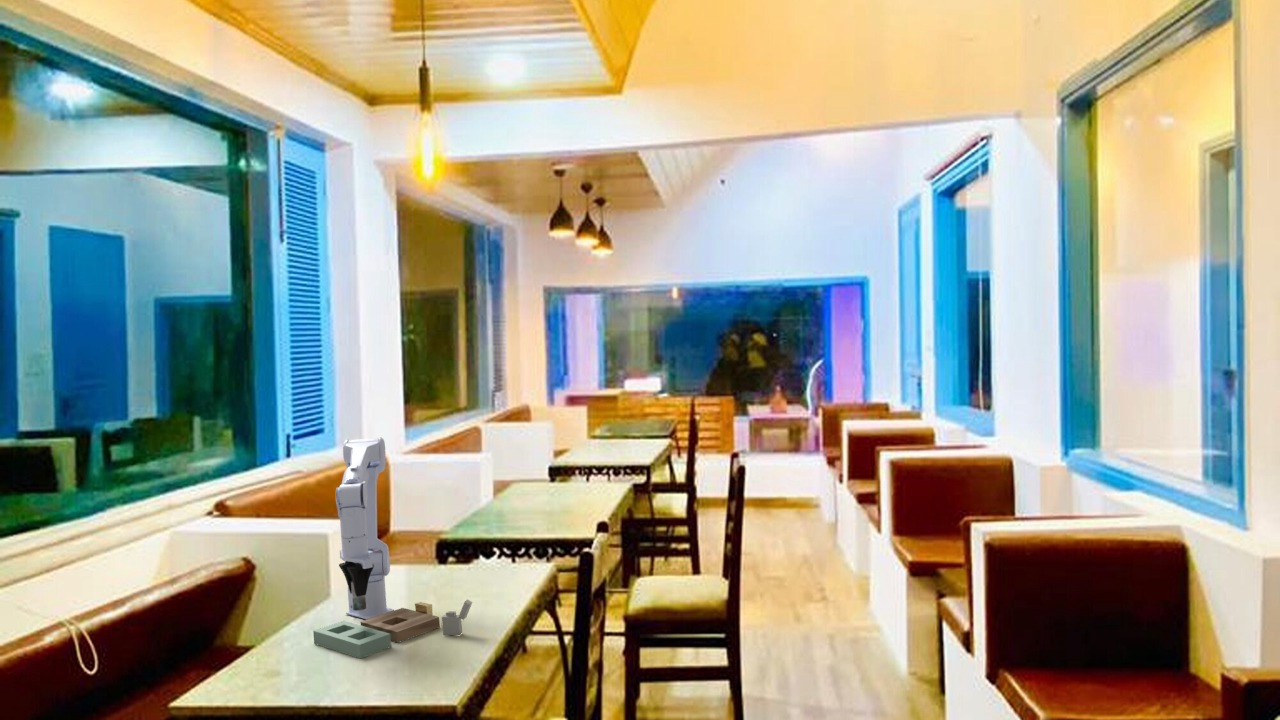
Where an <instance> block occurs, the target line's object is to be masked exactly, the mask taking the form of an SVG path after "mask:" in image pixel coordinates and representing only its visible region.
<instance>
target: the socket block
mask: <svg viewBox="0 0 1280 720" xmlns="http://www.w3.org/2000/svg"><path fill="white" fill-rule="evenodd" d="M440 624H441V623H440V616H437V615H430V614H426V613H421V612H417V611H416V610H413V609H409V608H405V607H400V608H398V609H394V611H391V612H388V613H385V614H382V615H379V616H376V617H374V618H371V619H368V620H366V619H364V620H362V621H360V625H361V626H364V627H368V628H372V629H375V630H379V631H382V632H386V633H389V634H390V636H391V642H393V641H395V642H394V643H397V642H399V643H401V642H403V640H404V641H406V639H407V640H409V639H411V637H412V638H414V637H413V636H415V637H417V636H416V635H418V636H420V635H423V634H425V632H426V633H428V632H431V631H434V630H436V629H435V628H437V629H439V628H441V625H440ZM438 627H439V628H438ZM433 629H434V630H433ZM408 638H409V639H408ZM400 641H401V642H400Z"/></svg>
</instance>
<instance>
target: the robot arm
mask: <svg viewBox="0 0 1280 720" xmlns="http://www.w3.org/2000/svg"><path fill="white" fill-rule="evenodd" d="M385 442H386V441H385V440H384V438H383V437H382V436H381V437H374V438H373V437H371V438H360V439H345V441H344V442H343V444H342V445H343V446H342V455H343V461H344V463H345V467H346V469H345V471H344V472H343V476H342V481H341V484H340V485H339V487H338V486H337V487H336V489H335V503H336V509H337V516H338V518H339V523H340V524H339V525H340V538H341V549H340V550H339V559H341V560H342V561H344V562H341V563H339V564H338V567H339V568H340V570H341V571H342V574H343V576H344V577H345V581H346V583H347V596H348V597H347V598H348V599H347V600H348V611H346V613H345V614H346V615H349V616H351V617H352V616H353V617H356V618H359V619H363V620H368V619H371V618H374V617H376V616H379V615H382V614H385V613H388V612H391V611H394V610H395V608H391V607H387V592H386V579H385V577H387V576H388V575H389V574H390V572H391V570H390V569H391V568H390V567H391V558H390V551H389V550H390V549H389V546H388V544H387V543H386V542H384V541H382V540H381V539H379V538H378V502H377V501H378V495H377V494H378V492H377V491H378V490H377V487H378V486H377V485H378V478H379V474H381V473H382V472H384V471H385V470H386V443H385ZM352 580H353V585H354V590H355V594H356V596H357V597H359V596H363V595H366V609H364V610H359V611H355V610H353V604H352V589H351V581H352Z"/></svg>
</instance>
